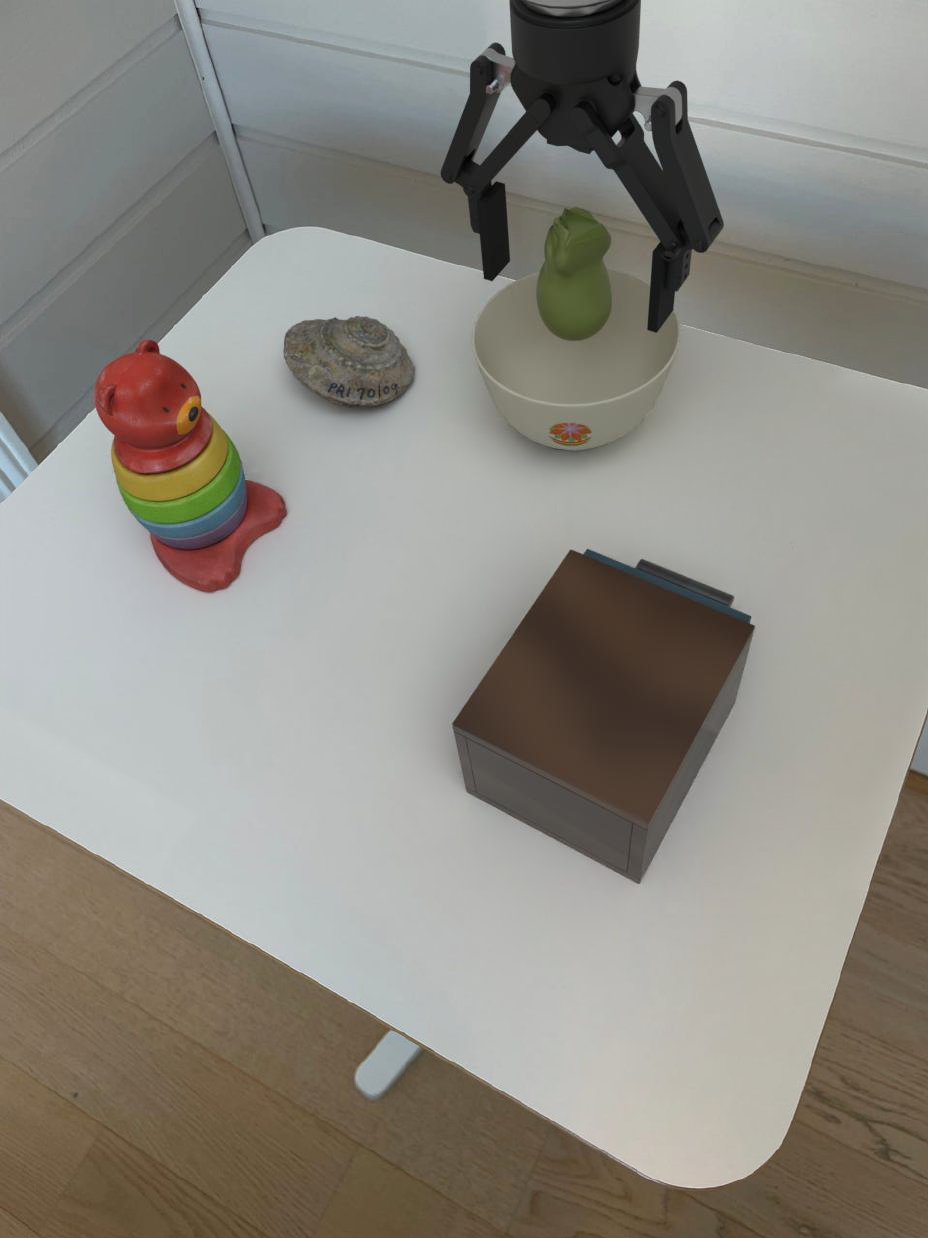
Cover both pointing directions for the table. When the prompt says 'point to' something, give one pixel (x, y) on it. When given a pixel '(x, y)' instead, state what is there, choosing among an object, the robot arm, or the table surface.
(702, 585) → the drawer
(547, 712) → the cabinet
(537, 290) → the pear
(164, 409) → the stacking bear
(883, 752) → the table surface
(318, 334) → the fossilized seashell
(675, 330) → the bowl
